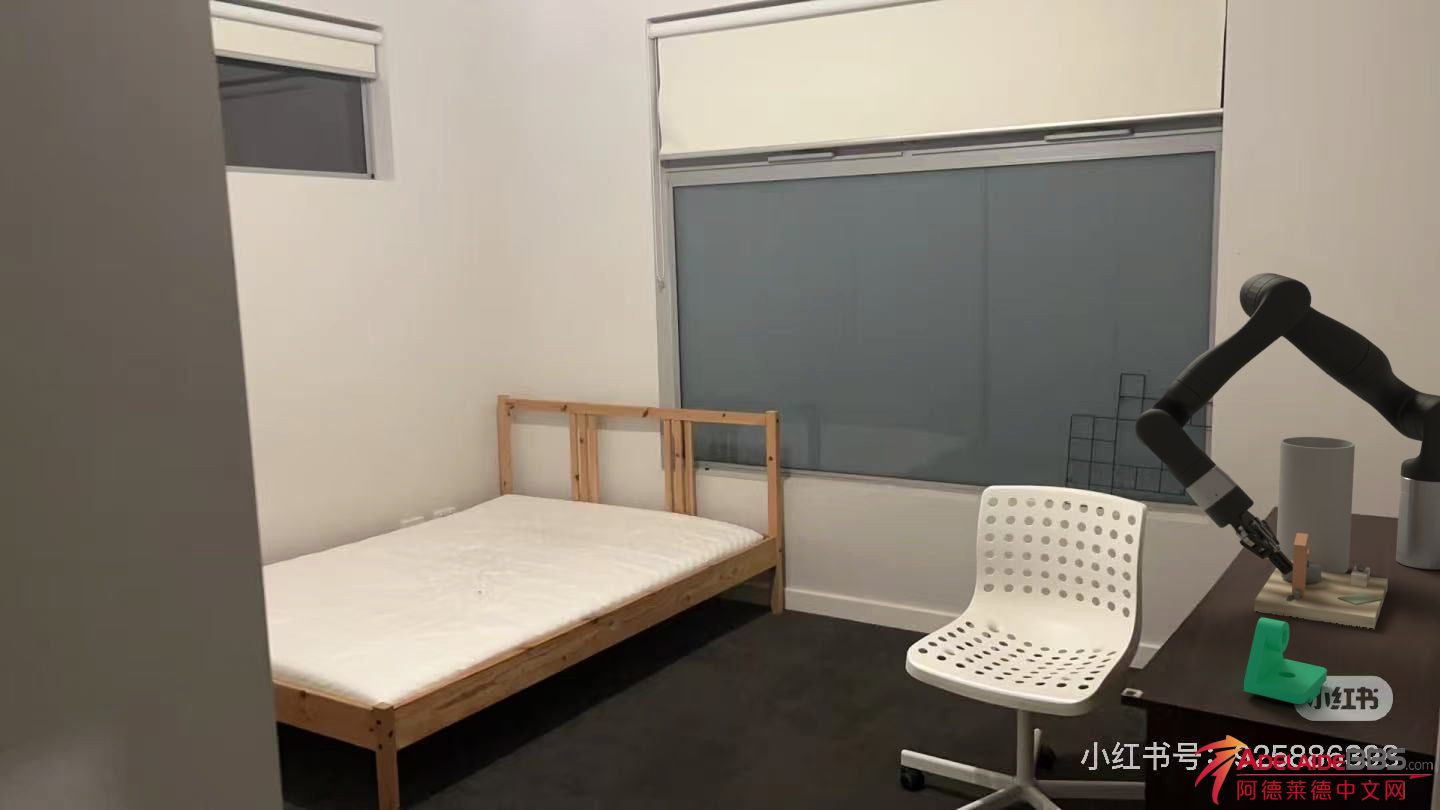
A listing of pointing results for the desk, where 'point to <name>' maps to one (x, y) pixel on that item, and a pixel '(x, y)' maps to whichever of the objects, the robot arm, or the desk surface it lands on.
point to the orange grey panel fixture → (1302, 567)
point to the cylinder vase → (1316, 498)
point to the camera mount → (1280, 667)
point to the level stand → (1327, 598)
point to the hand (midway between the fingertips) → (1290, 571)
